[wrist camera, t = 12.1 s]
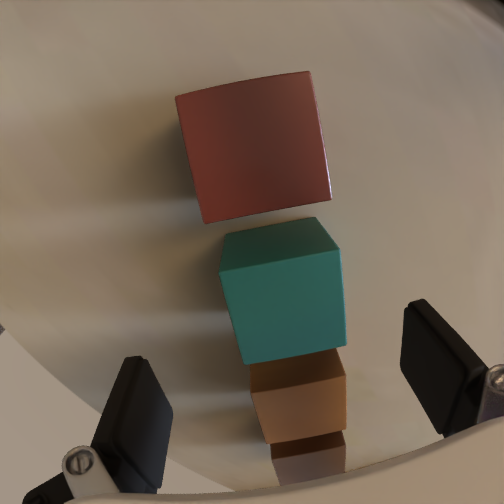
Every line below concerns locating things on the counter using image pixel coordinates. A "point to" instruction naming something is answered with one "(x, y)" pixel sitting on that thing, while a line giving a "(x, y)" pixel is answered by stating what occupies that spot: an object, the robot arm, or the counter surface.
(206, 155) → the dark cherry block
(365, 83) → the counter surface
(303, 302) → the teal block
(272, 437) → the oak block
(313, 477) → the walnut block
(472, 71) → the counter surface
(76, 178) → the counter surface
